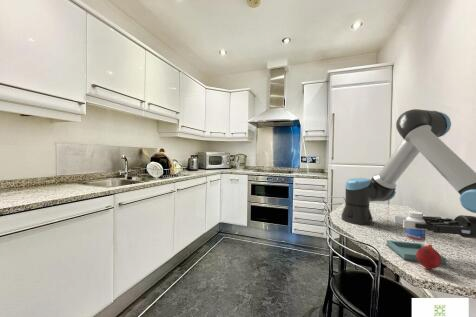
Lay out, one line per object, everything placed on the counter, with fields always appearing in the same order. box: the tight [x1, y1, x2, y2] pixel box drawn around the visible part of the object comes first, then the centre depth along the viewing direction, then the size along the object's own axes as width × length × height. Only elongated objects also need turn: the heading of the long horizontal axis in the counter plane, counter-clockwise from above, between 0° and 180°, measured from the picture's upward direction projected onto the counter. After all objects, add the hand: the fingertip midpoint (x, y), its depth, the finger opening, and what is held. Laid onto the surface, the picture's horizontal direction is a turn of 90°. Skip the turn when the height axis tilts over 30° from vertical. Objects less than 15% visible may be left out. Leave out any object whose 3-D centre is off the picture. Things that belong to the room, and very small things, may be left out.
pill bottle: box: [405, 210, 426, 243], centre depth 74 cm, size 6×5×10 cm
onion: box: [416, 243, 442, 271], centre depth 64 cm, size 6×6×8 cm
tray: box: [386, 239, 447, 266], centre depth 75 cm, size 12×12×2 cm
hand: (399, 221), depth 76 cm, fingers closed on pill bottle, 5 cm apart
